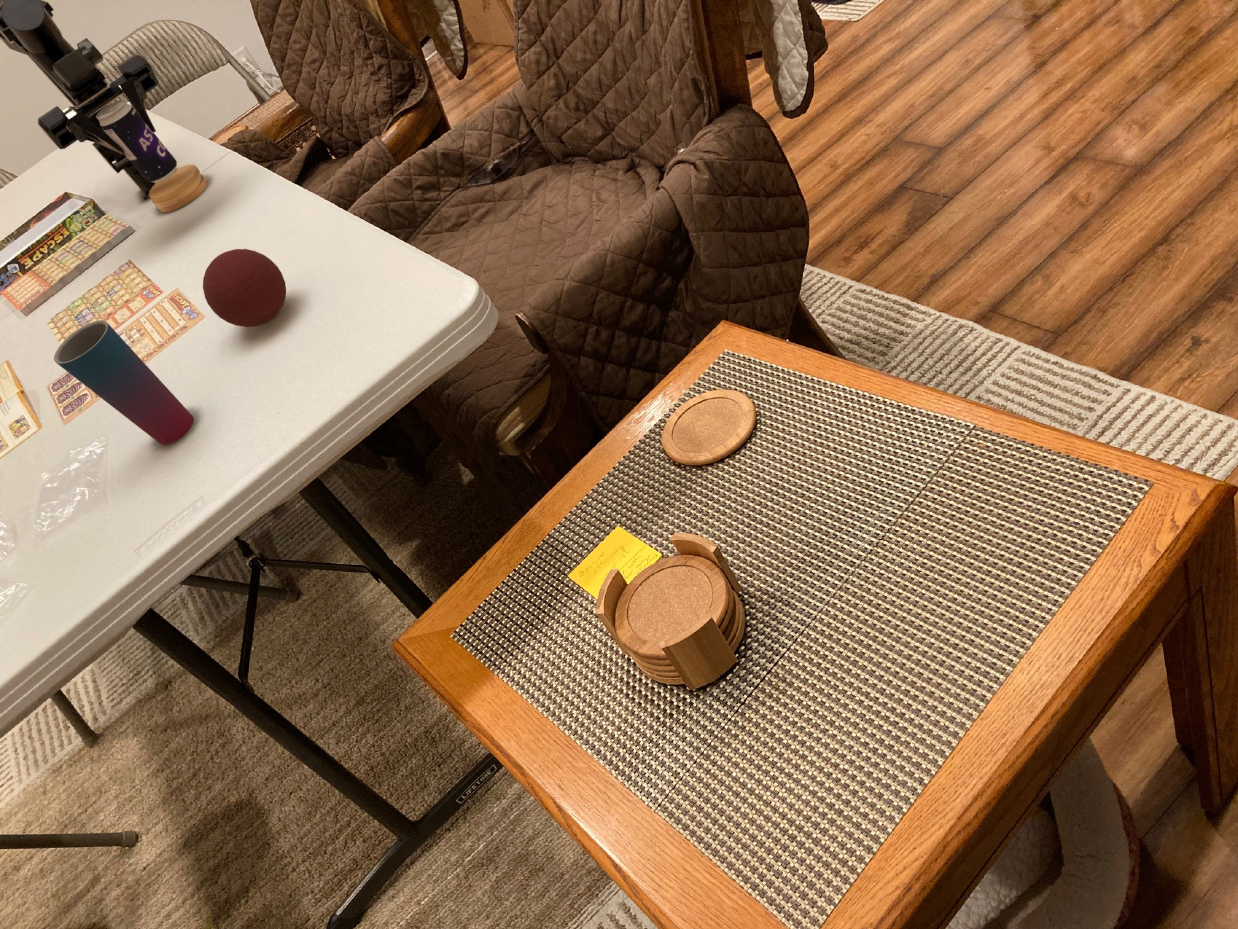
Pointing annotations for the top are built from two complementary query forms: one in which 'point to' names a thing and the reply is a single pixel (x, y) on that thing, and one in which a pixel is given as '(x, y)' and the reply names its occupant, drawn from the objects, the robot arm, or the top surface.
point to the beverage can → (137, 141)
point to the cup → (123, 381)
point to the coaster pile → (178, 189)
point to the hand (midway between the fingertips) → (138, 141)
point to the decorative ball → (244, 287)
